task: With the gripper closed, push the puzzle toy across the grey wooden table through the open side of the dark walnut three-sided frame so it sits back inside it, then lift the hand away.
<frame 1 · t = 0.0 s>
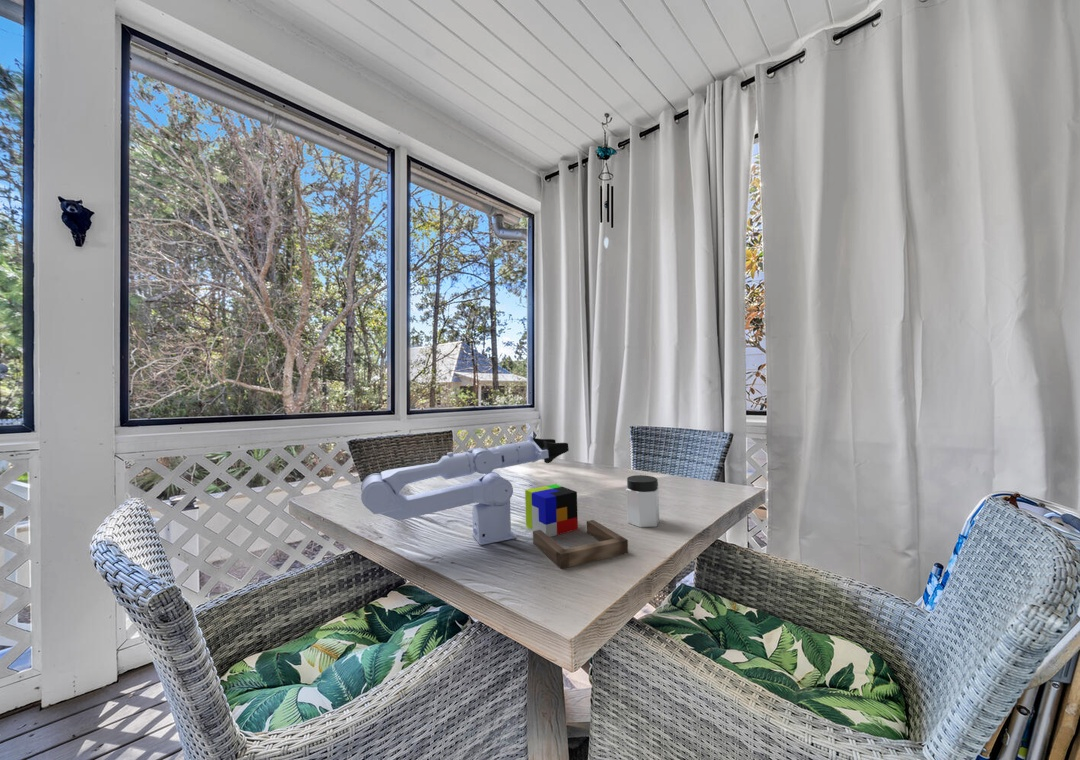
hand: (561, 444, 113), 22 cm above the table, tool horizontal, fingers open, 7 cm apart
walnut frame: (576, 546, 97), on the table
jar: (643, 523, 112), on the table
puzzle toy: (551, 528, 110), on the table
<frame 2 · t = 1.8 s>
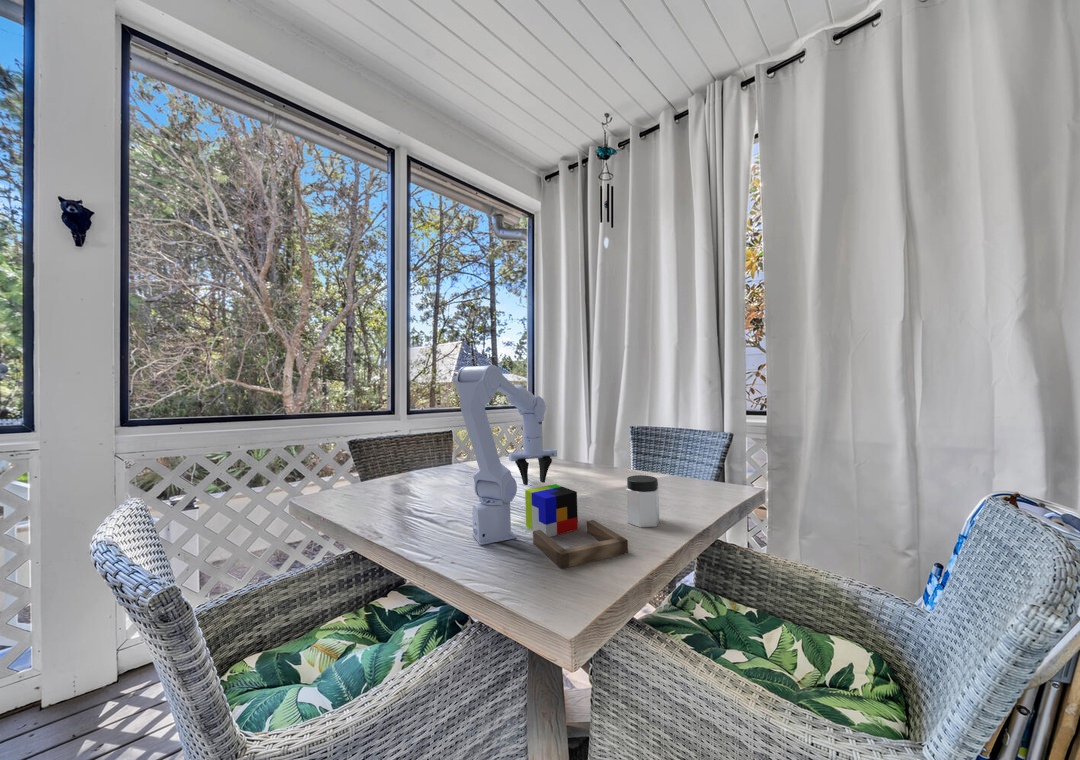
hand: (534, 483, 121), 9 cm above the table, tool pointing down, fingers open, 5 cm apart
nothing on the table moved.
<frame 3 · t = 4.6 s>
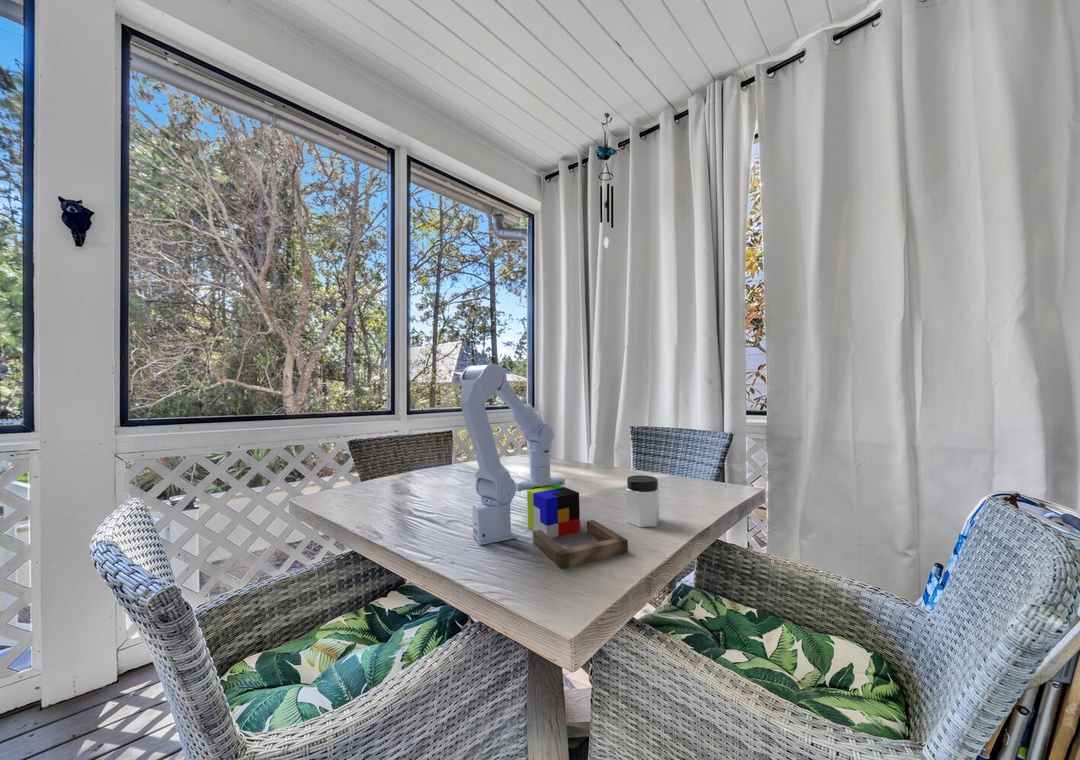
hand: (541, 513, 116), 2 cm above the table, tool pointing down, fingers closed
puzzle toy: (553, 529, 109), on the table, touching gripper
everything else where it was.
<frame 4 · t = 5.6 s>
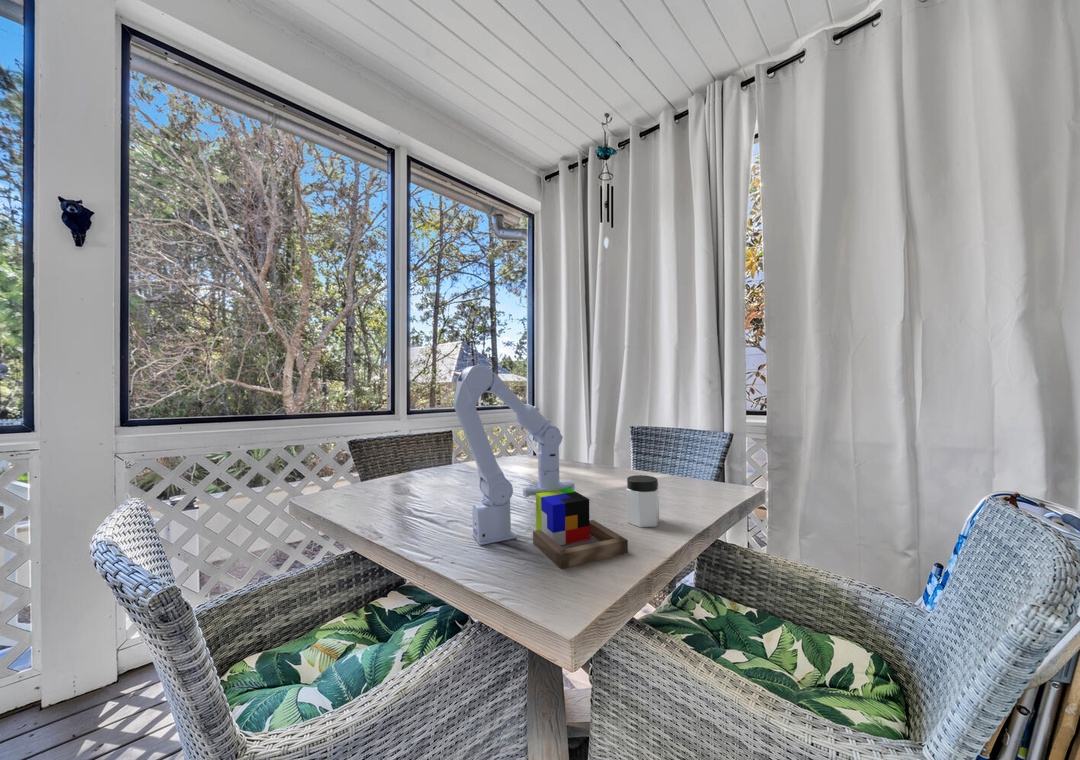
hand: (550, 519, 111), 2 cm above the table, tool pointing down, fingers closed, pressing on puzzle toy
puzzle toy: (562, 536, 104), on the table, touching gripper
everything else where it was.
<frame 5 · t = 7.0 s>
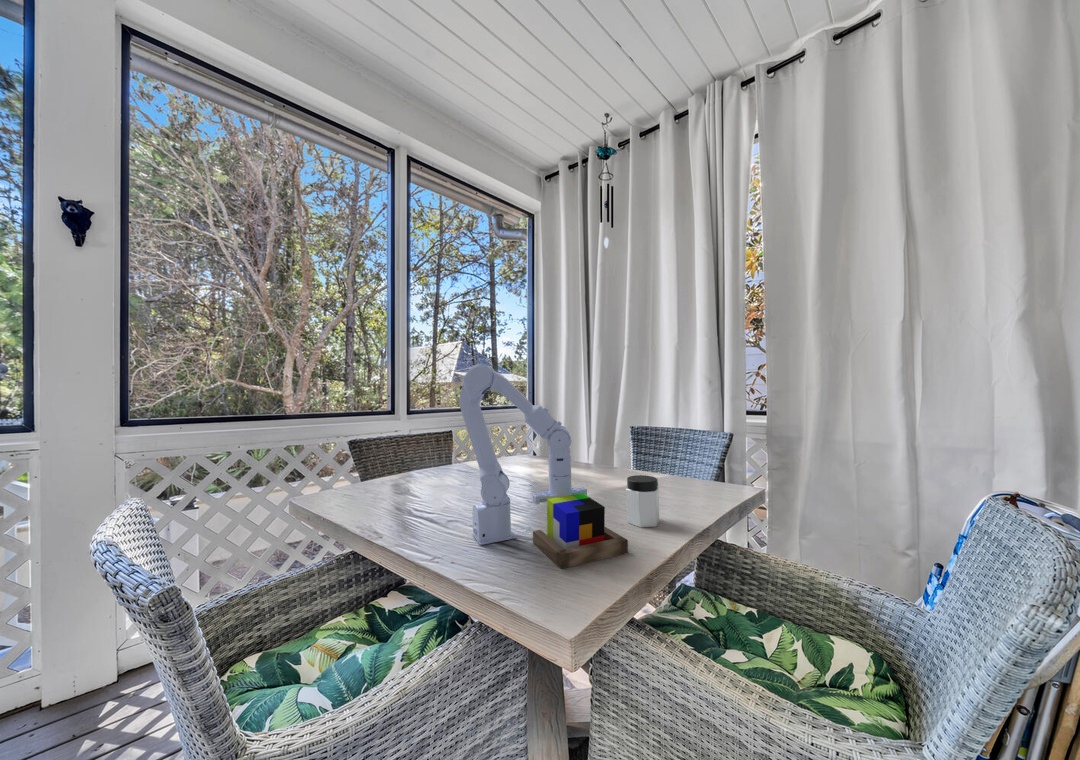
hand: (561, 527, 105), 2 cm above the table, tool pointing down, fingers closed, pressing on puzzle toy
puzzle toy: (574, 544, 98), on the table, touching gripper
everything else where it was.
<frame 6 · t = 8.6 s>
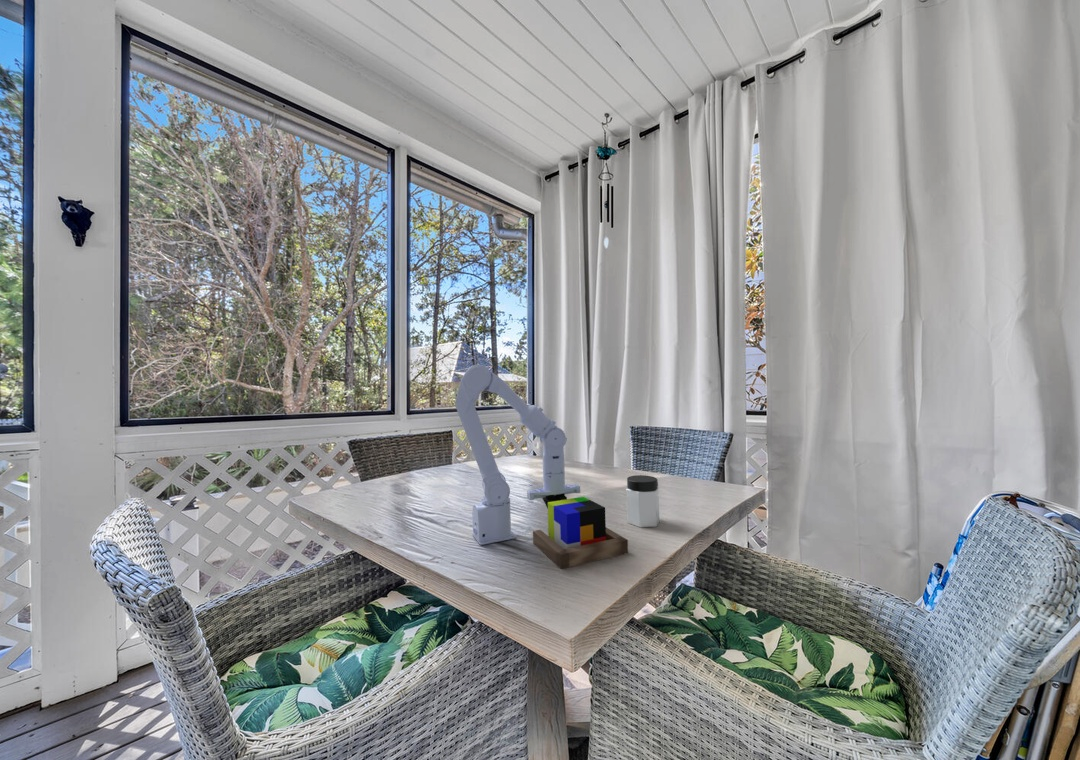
hand: (555, 523, 108), 2 cm above the table, tool pointing down, fingers closed
puzzle toy: (576, 547, 97), on the table
everything else where it was.
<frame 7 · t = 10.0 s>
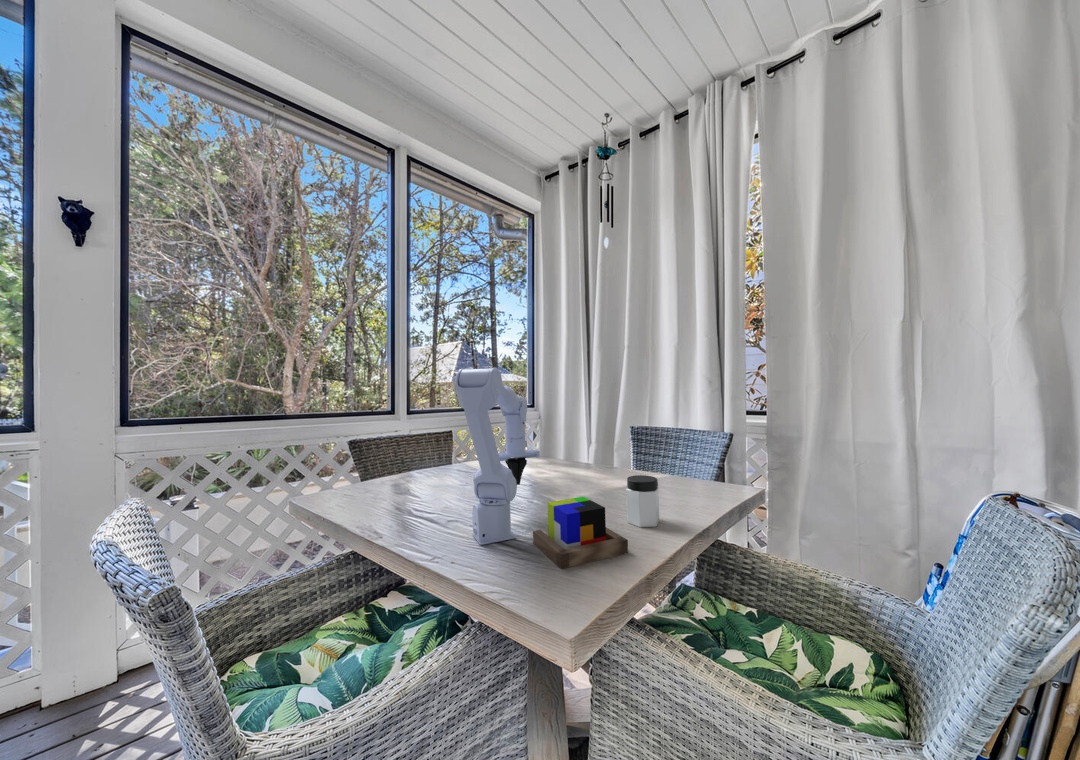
hand: (516, 484, 120), 9 cm above the table, tool pointing down, fingers closed
nothing on the table moved.
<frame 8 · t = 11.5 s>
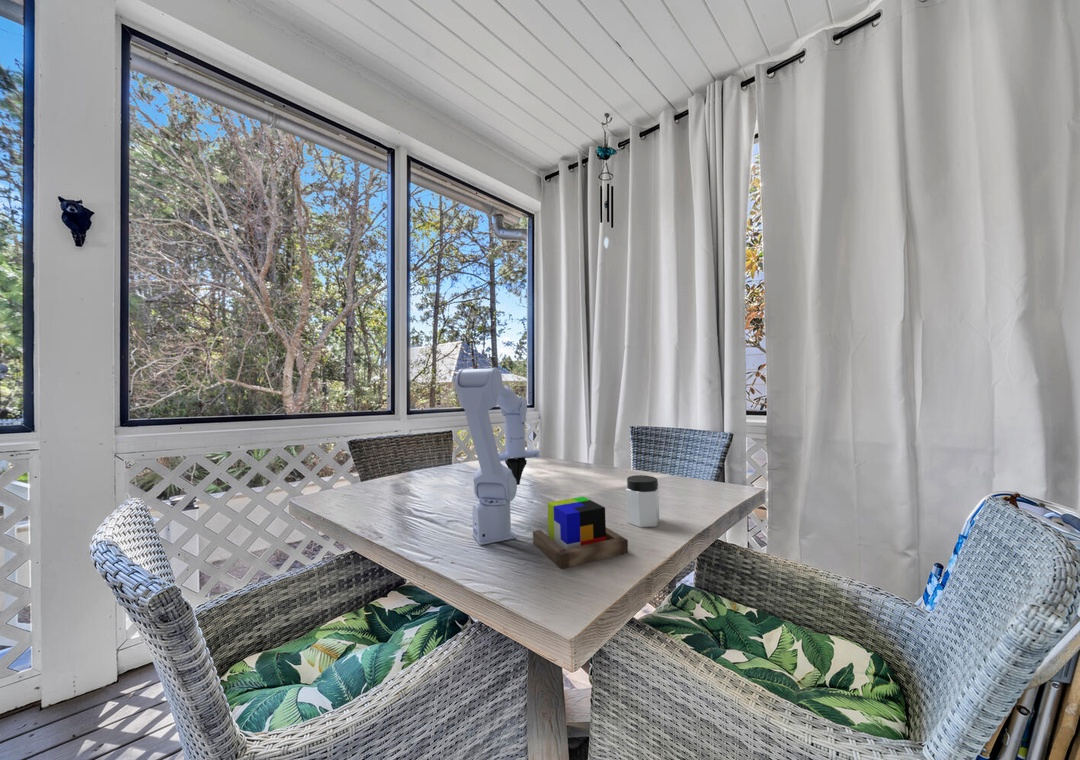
hand: (516, 484, 120), 9 cm above the table, tool pointing down, fingers closed
nothing on the table moved.
at the end: puzzle toy 0.5 cm off-centre on the walnut frame, point 0.0 cm above the walnut frame's base; puzzle toy tilted 0°; puzzle toy moved 14.0 cm from its start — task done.
